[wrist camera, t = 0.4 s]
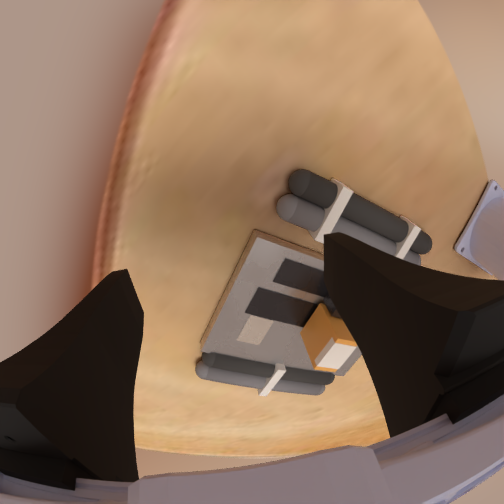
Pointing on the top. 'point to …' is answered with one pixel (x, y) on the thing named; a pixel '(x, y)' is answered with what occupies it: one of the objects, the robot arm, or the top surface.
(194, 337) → the top surface
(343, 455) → the robot arm
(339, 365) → the lever
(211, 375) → the cord bundle
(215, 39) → the top surface
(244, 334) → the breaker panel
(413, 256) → the cord bundle
